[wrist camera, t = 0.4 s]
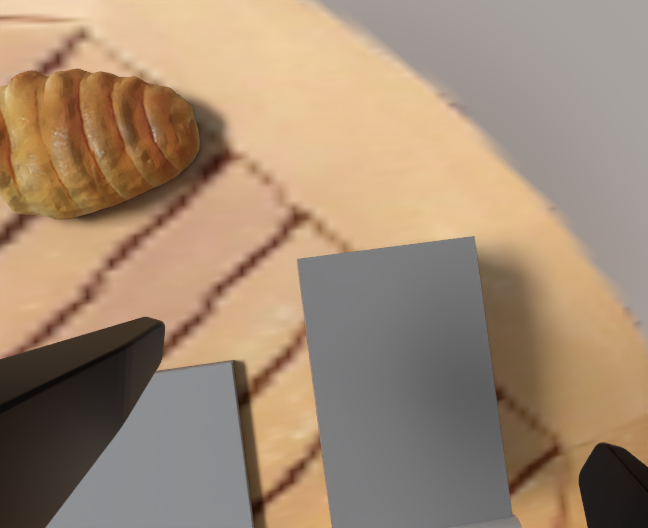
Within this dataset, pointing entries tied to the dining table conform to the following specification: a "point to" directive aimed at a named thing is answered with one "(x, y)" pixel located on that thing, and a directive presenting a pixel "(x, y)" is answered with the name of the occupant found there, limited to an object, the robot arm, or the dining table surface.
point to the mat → (171, 460)
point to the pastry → (89, 141)
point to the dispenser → (405, 388)
